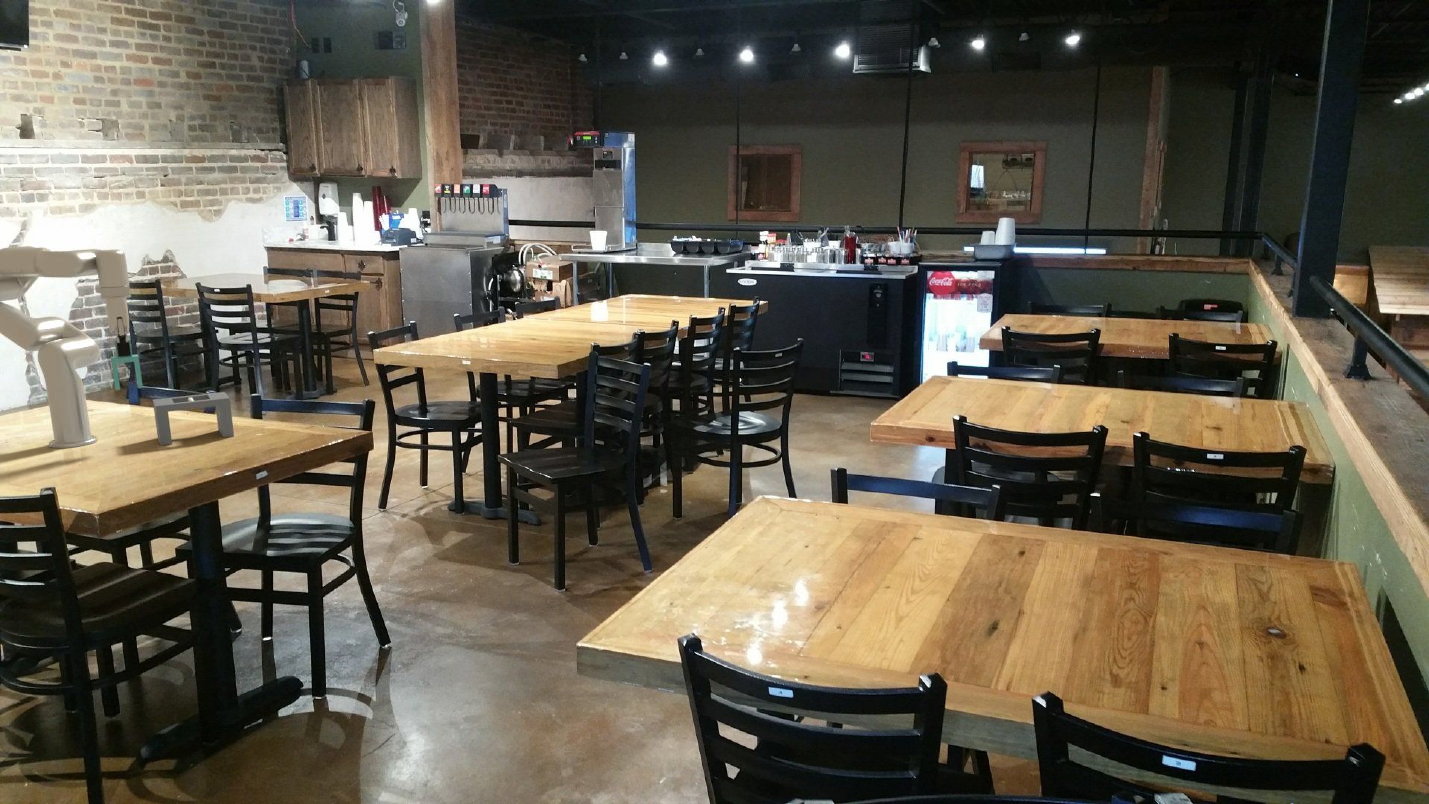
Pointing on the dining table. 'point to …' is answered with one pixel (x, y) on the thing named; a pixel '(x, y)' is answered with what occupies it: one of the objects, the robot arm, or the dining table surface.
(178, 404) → the grey table arch
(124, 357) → the teal arch frame
